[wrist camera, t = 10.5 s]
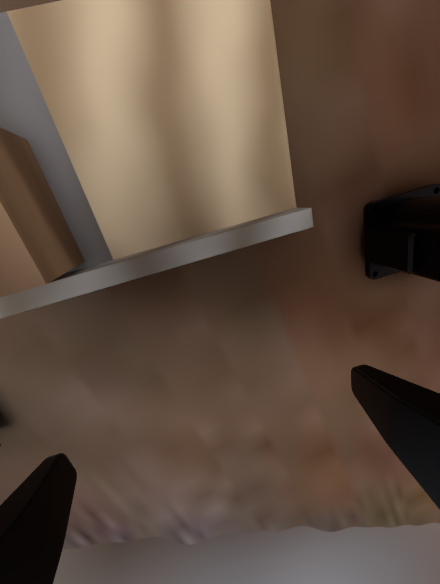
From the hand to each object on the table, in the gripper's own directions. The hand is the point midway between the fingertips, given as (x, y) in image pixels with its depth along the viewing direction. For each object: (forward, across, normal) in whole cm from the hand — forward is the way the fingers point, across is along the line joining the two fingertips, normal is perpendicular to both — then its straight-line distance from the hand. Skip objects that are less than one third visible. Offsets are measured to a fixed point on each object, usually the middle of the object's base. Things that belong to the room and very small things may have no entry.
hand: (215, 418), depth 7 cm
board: (+12, +2, -9) cm, 16 cm away
